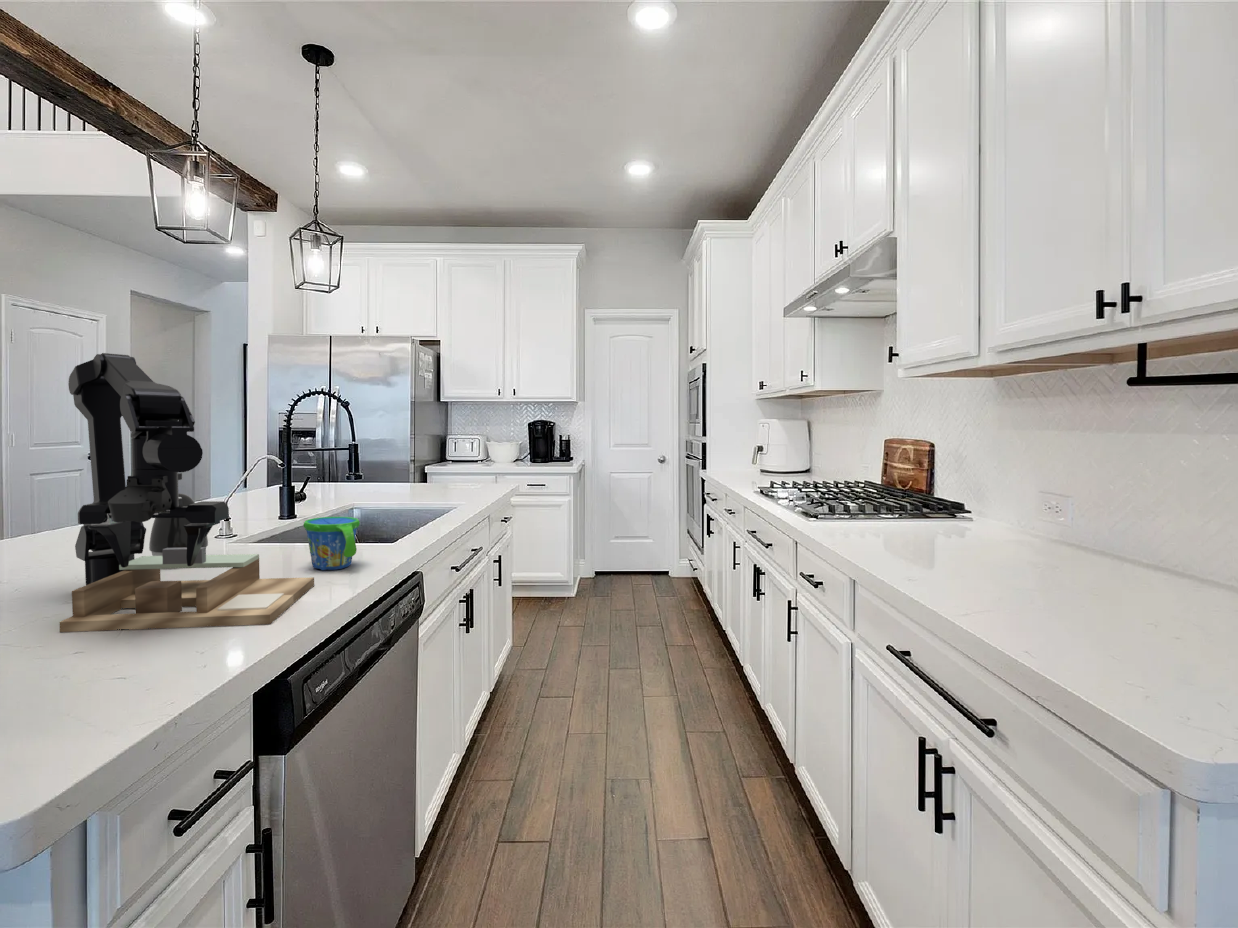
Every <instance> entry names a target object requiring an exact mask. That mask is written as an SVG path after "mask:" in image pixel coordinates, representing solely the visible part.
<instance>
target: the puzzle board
mask: <svg viewBox="0 0 1238 928" xmlns="http://www.w3.org/2000/svg"><path fill="white" fill-rule="evenodd" d="M260 576H261V575H260V558H259V559H257V560H255V561H254V562H252V563H250V564H248V565H246V566H245V567H230V569H228V570H226V571H224V572H223V573H220V574H219V575H217V576H215V577H213V578H212V579H204V580H203V579H200V580H199V579H198V580H197V579H195V580H194V579H193V580H191V579H190V580H180V581H181V591H182V608H190V607H191V608H192V607H193V608H194V607H196V611H180V612H166V613H136V612H135V613H116V612H118V611H119V610H125V609H124V608H136V606H135V588H137V587H140V586H142V585H144V584H146V583H148V582H151V581H162V579H161V569H131V570H124V571H121V572H119V573H116V574H114V575H111V576H108V577H106V578H103V579H101V580H98V581H96V582H93V583H91V584H88V585H86V584H85V585H83V586H81V587H78V588H76V589H73V590H72V591H71V603H72V604H71V605H72V616H70V617H67V618H65V619H63V620H61V621H59V632H60V633H67V632H69V633H71V632H96V631H98V632H99V631H100V632H101V631H103V632H104V631H122V630H121V629H129V630H145V629H146V630H149V629H150V628H151V629H152V630H153V628H156V629H174V628H175V629H177V628H178V629H179V628H181V629H182V628H202V627H204V628H205V627H229V626H257V625H261V626H262V625H271V624H272V623H273V622H275V620H277V618H279V617H280V616H282V614H283V613H284V612H286V611H287V610H288V609H289V608H290V607H291V606H292V605H293V604H295V603H296V602H297V601H298V600H299V599H300V598H301V597H302V596H304V595H305V594H306V593H307V592H308V591H310V590H311V589H312V588H313V587H314V586H315V577H311V576H310V577H279V578H278V577H277V578H260ZM280 593H284V595H283V596H282V597H281V598H280V599H278V600H277V601H276V602H275V603H274V604H272V605H271V606H270V607H269V608H267V609H255V610H225V611H218V608H220V607H221V606H223V605H224V604H226V603H227V602H229V601H230V600H232V599H233V598H235V597H236V596H238V595H246V594H280ZM121 608H123V609H121ZM115 611H116V612H115ZM148 628H149V629H148ZM117 629H118V630H117ZM119 629H120V630H119ZM151 629H150V630H151Z"/></svg>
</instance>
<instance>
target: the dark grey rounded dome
mask: <svg viewBox="0 0 1238 928" xmlns="http://www.w3.org/2000/svg"><path fill="white" fill-rule="evenodd" d="M178 498H182V501H183V504H182V505H179V506H188V505H190V504H194V503H196V502H195V501H194V499H193V498H192V497H191V496H189V495H187V494H185V493H179V492H178ZM162 513H170V512H162ZM188 524H191V523H190V522H189V521H188V520H187V519H186V518H154V520H153V524H152V526H151V531H150V537H149V544H148V546H149V547H148V549H149V551H150V552H151V556H162V550H163V549H165V548H187V532H186V530H185V528H184V526H185V525H188ZM208 546H209V539H208V535H207V536H206V538H205V540H204V542H203V544H202V546H201V547H206V548H207V547H208Z"/></svg>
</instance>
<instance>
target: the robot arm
mask: <svg viewBox="0 0 1238 928" xmlns="http://www.w3.org/2000/svg"><path fill="white" fill-rule="evenodd" d="M67 383H68V391H69V394H70V395H72V397H73V403H74V407H76V409H77V410H78V411H79V412H80V413H81V415H82V416H84V418H85V419H86V420H87V431H88V440H89V441H88V442H89V455H90V467H91V479H92V480H91V481H92V494H93V495H92V496H93V502H92V503H87V504H83V505H82V506H81V507H80V508H79V510H78V511H77V524H79V525H81V526H80V529H79V532H78V536H77V538H76V542H75V545H74V548H75V549H74V550H75V555H76V559H80V560H81V561H84V567H85V569H84V571H85V574H84V575H85V586H86V585H88V584H91V583H93V582H96V581H98V580H101V579H103V578H106V577H108V576H111V575H114V574H116V573H119V572H121V571H124V570H119V565H121V567H127V566H128V564H129V561H131V560H134V559H135V555H137V554H138V555H139V554H143V552H144V546H145V540H146V539H145V537H146V533H147V527H146V526H145V525H144V523H143V522H147V521H149V520H151V519H155V518H186V519H187V520H188V521H189V522H190V523H191V524H188V525H185V526H184V528H185V530H186V532H187V556H186V558H187V566H192V565H193V564H194V562H195V560H196V557H197V555H198V553H199V551H200V548H201V546H202V544H203V542H204V540H205V538H206V536H207V537H208V535H209V533H210V531H211V530H212V528H213V526H217V525H218V524H220V523H221V521H223V520H226V519H229V518H230V513H229V511H230V510H229V509H230V507H229V506H228V504H227V503H226V502H225V500H224V501H222V500H221V501H212V500H211V501H206V500H205V501H202V500H201V501H198V502H195V503H194V504H190V505H188V506H179V505H182V504H183V501H182V498H178V493H179V481H181V480H183V473H186V472H189V471H191V470H194V469H195V468H196V467H198V465H199V464H200V463H201V460H203V455H204V453H203V448H202V446H201V444H200V443H199V441H198V440H197V439H196V438H195V437H193V436H191V435H189V434H188V433H190V432H191V433H193V432H195V427H194V425H195V423H196V421H195V419H194V416H193V415H192V412H191V410H190V408H189V406H188V404H187V402H186V399H185V397H184V396H182V394H181V393H180V391H179V390H178V389H176V388H174V387H172V386H170V385H166V384H161V383H157V382H155V381H154V380H152V378H150V376H148V375H147V374H146V373H145V371H144V370H143V369H141V368H140V366H139V365H138V364H137V361H136V359H135V357H133V356H130V355H128V354H120V353H107V352H102V353H96V354H95V356H94V357H93V359H91V360H89V361H86V362H82V363H79V364H77V365H75V366H74V368H73V369H72V371H71V373H70V374H69V377H68V382H67ZM122 418H123V420H124V422H125V423H126V425H127V428H128V430H129V431H130V432H131V433H130V437H131V465H132V466H131V467H132V469H131V470H132V473H131V475H127V479H126V475H125V473H126V472H125V459H124V450H123V449H124V446H123V434H122V423H121V419H122ZM162 512H170V513H162Z"/></svg>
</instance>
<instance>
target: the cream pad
mask: <svg viewBox="0 0 1238 928" xmlns="http://www.w3.org/2000/svg"><path fill="white" fill-rule="evenodd" d="M283 595H284V593H280V594H246V595H238V596H236V597H235V598H233V599H232V600H230V601H229V602H227V603H226V604H224V605H223V606H221V607H220V608H218V611H225V610H255V609H267V608H269V607H270V606H271V605H272V604H274V603H275V602H276V601H277V600H278V599H280V598H281V597H282V596H283Z"/></svg>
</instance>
